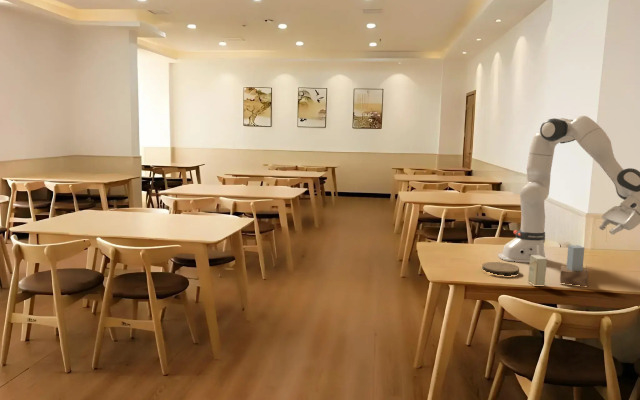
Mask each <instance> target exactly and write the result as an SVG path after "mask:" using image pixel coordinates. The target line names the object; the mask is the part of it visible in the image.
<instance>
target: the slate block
mask: <svg viewBox="0 0 640 400" xmlns="http://www.w3.org/2000/svg"><path fill="white" fill-rule="evenodd" d="M584 255H585V247H583V246H582V245H580V244H579V245H578V244H576V245H575V244H574V245H573V244H569V245H567V259H566V266H567V268H568V269H569V270H571V271H583V268H584V257H585V256H584Z"/></svg>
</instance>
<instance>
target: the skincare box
mask: <svg viewBox="0 0 640 400" xmlns="http://www.w3.org/2000/svg"><path fill="white" fill-rule="evenodd" d="M547 263H548V258H546V257H545V258H544V257H542V256H540V255H530V263H529V265H528V277H527V278H528V279H527V282H528V281H529V282H531V283H532V284H534V285H544V286H545V283H546V274H547V273H546V272H547Z"/></svg>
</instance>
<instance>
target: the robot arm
mask: <svg viewBox="0 0 640 400" xmlns="http://www.w3.org/2000/svg"><path fill="white" fill-rule="evenodd" d="M574 141H576V143H578V145H579V146H580V147H581V148H582V149H583V150H584V151H585V152H586V153H587V154H588V155H589V156H590V157H591V158H592V160H594V161H595V162H596V163H597V164H598V165H599V166H600V167H601V168H602V170H603V171H604V172H605V174H606V175H607V176H608V177H609V179H610V180H611V181H612V182H613V184H614V187H615V192H616V194H617V196H618V197H619V198H620V199H622V200H623V201H621V203H620V204H619V205H615V206H613V207H611V208H610V209H608V210H607V211H605V212H604V213H603V214H602V215H601V218H602V219H603V221H602V222H601V224H600V225H599V226H598V228H599V229H600V230H601V231H604V230H605V229H607V227H608V225H614V226H615V227H614V228H611V229H610V230H609V233H610V234H611V235H615V234H617V233H619V232H622V231H623V230H627V231H632V230H634V229H635V228H636V227H637V226H638V225H640V170H638V169H636V168H631V167H630V168H625V169H624V168H623V167H622V166H621V165H620V164H619V162H618V160H617V159H616V157H615V155H614V151H613V146H612V141H611V140H610V138H609V136H608V134H607V133H606V131H604V129H603V128H602V127H601V126H600V125H599V124H598V123H597V122H595V121H594V120H593V119H591V118H590V117H589V116H587V115H580V116H578V117H575V118H574V119H568V118H549V119H547V120H545V121H544V122H542V124H541V126H540V128H539V131H538V132H536V133H535V134H534V135H533V137H532V141H531V142H530V143H531V144H530V147H529V153H528V158H527V164H526V184H525V185H523V186H522V188H521V189H520V193H519V198H520V211H521V212H520V213H521V217H520V229H519V230H516V229H515V230H513V234H514V235H515V237H514V238H513V239H511V240H510V241H508V242H507V243H505V244H504V247H503V251H502V252H499V253H498V254H497V255H498V258H499V259H501V260H502V259H503V261H506V262H514V261H515V263H516V262H517V263H518V262H519V263H529V264H530V255H540V256H542V257H544V258H546V253H545V242H546V232H545V223H546V211H545V201H546V200H547V198H548V197H549V194H550V185H551V172H552V167H553V166H552V165H553V160H554V155H555V154H554V153H555V148H556V146H557V145H558V144H559V143H560V144H566V143H570V142H574Z"/></svg>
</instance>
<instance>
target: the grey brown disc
mask: <svg viewBox="0 0 640 400" xmlns="http://www.w3.org/2000/svg"><path fill="white" fill-rule="evenodd" d="M481 268H482V269H483V270H485V271H486V272H490V273H493V274H497V275H504V276H511V275H517V274H519V275H520V267H519V266H517V265H516V264H512V263H507V262H500V261H489V262H484V263H483V264H482V267H481ZM482 269H481V270H482Z"/></svg>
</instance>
